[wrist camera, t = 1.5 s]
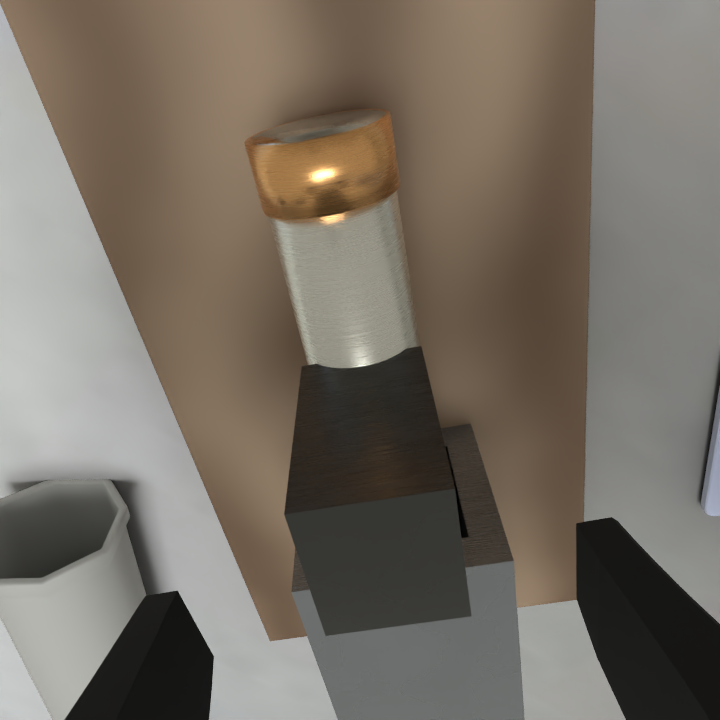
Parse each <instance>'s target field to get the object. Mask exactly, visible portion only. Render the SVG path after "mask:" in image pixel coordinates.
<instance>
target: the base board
mask: <svg viewBox="0 0 720 720" xmlns="http://www.w3.org/2000/svg"><path fill="white" fill-rule="evenodd" d="M0 4H1V6H2V9H3V11H4V13H5V16H6V18H7V20H8V23H9V25H10V28H11V30H12V32H13V35H14V37H15V39H16V42H17V44H18V46H19V49H20V51H21V54H22V56H23V58H24V61H25V63H26V65H27V68H28V70H29V72H30V75H31V77H32V80H33V82H34V84H35V87H36V89H37V91H38V94H39V96H40V98H41V101H42V103H43V106H44V108H45V110H46V113H47V115H48V117H49V120H50V122H51V124H52V127H53V129H54V132H55V134H56V136H57V139H58V141H59V143H60V146H61V148H62V150H63V153H64V155H65V158H66V160H67V162H68V165H69V167H70V169H71V172H72V174H73V176H74V179H75V181H76V183H77V186H78V188H79V191H80V193H81V195H82V198H83V200H84V202H85V205H86V207H87V209H88V212H89V214H90V217H91V219H92V221H93V224H94V226H95V228H96V231H97V233H98V235H99V238H100V240H101V243H102V245H103V247H104V250H105V252H106V254H107V257H108V259H109V261H110V264H111V266H112V269H113V271H114V273H115V276H116V278H117V280H118V283H119V285H120V287H121V290H122V292H123V295H124V297H125V299H126V302H127V304H128V306H129V309H130V311H131V313H132V316H133V318H134V321H135V323H136V325H137V328H138V330H139V332H140V335H141V337H142V339H143V342H144V344H145V347H146V349H147V351H148V354H149V356H150V358H151V361H152V363H153V365H154V368H155V370H156V373H157V375H158V377H159V380H160V382H161V384H162V387H163V389H164V391H165V394H166V396H167V399H168V401H169V403H170V406H171V408H172V410H173V413H174V415H175V417H176V420H177V422H178V425H179V427H180V429H181V432H182V434H183V436H184V439H185V441H186V443H187V446H188V448H189V451H190V453H191V455H192V458H193V460H194V462H195V465H196V467H197V469H198V472H199V474H200V477H201V479H202V481H203V484H204V486H205V488H206V491H207V493H208V495H209V498H210V500H211V503H212V505H213V507H214V510H215V512H216V514H217V517H218V519H219V521H220V524H221V526H222V529H223V531H224V533H225V536H226V538H227V540H228V543H229V545H230V547H231V550H232V552H233V554H234V557H235V559H236V562H237V564H238V566H239V569H240V571H241V573H242V576H243V578H244V580H245V583H246V585H247V588H248V590H249V592H250V595H251V597H252V599H253V602H254V604H255V606H256V609H257V611H258V614H259V616H260V618H261V621H262V623H263V625H264V628H265V630H266V632H267V635H268V637H269V640H270V641H274V640H282V639H289V638H297V637H304V636H307V634H306V631H305V628H304V625H303V623H302V620H301V617H300V615H299V612H298V609H297V606H296V604H295V601H294V598H293V596H292V593H291V590H292V579H293V568H294V557H295V545H294V542H293V539H292V536H291V533H290V530H289V527H288V524H287V521H286V519H285V516H284V511H285V503H286V494H287V486H288V477H289V469H290V460H291V452H292V443H293V435H294V426H295V418H296V409H297V401H298V392H299V384H300V375H301V367H302V366H305V365H308V363H307V360H306V356H305V352H304V348H303V344H302V341H301V337H300V333H299V329H298V326H297V322H296V318H295V314H294V310H293V307H292V303H291V299H290V295H289V291H288V288H287V284H286V280H285V276H284V273H283V269H282V265H281V261H280V257H279V254H278V250H277V246H276V242H275V239H274V235H273V231H272V227H271V223H270V220H269V217H268V216H266V215H265V214H264V213H263V210H262V207H261V203H260V199H259V196H258V192H257V188H256V184H255V181H254V177H253V173H252V169H251V166H250V162H249V158H248V155H247V151H246V147H245V143H244V142H245V140H246V139H247V138H249V137H250V136H252V135H254V134H256V133H259V132H261V131H264V130H267V129H269V128H272V127H275V126H279V125H282V124H285V123H289V122H293V121H297V120H301V119H305V118H309V117H314V116H319V115H324V114H330V113H336V112H342V111H350V110H359V109H385V110H388V111H390V114H391V121H392V128H393V135H394V142H395V149H396V156H397V163H398V170H399V177H400V187H399V188H398V189H397V194H398V201H399V208H400V215H401V222H402V228H403V235H404V242H405V249H406V256H407V263H408V269H409V276H410V283H411V290H412V297H413V303H414V310H415V317H416V324H417V331H418V337H419V344H420V346H422V351H423V355H424V359H425V363H426V368H427V372H428V376H429V380H430V385H431V389H432V393H433V397H434V402H435V406H436V410H437V414H438V419H439V423H440V427H441V428H446V427H452V426H458V425H465V424H471V425H472V428H473V431H474V435H475V438H476V441H477V444H478V447H479V451H480V454H481V457H482V460H483V464H484V467H485V470H486V473H487V476H488V480H489V483H490V486H491V489H492V492H493V496H494V499H495V502H496V505H497V508H498V512H499V515H500V518H501V521H502V524H503V528H504V531H505V534H506V537H507V540H508V544H509V547H510V550H511V553H512V556H513V560H514V570H515V585H516V600H517V608H518V607H526V606H533V605H540V604H548V603H555V602H563V601H570V600H577V598H576V523H581V522H584V480H585V434H586V388H587V343H588V297H589V252H590V206H591V161H592V115H593V69H594V24H595V0H0Z"/></svg>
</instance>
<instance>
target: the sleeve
mask: <svg viewBox="0 0 720 720" xmlns="http://www.w3.org/2000/svg"><path fill="white" fill-rule="evenodd" d="M441 431H442V436H443V440H444V444H445V448H446V453H447V457H448V461H449V465H450V469H451V474H452V478H453V482H454V486H455V492H456V500H457V508H458V515H459V523H460V531H461V539H462V546H463V554H464V562H465V569H466V577H467V585H468V592H469V600H470V608H471V615H472V616H470V617H463V618H455V619H448V620H440V621H433V622H426V623H418V624H411V625H403V626H396V627H389V628H381V629H374V630H366V631H359V632H352V633H344V634H337V635H329V636H325V633H324V630H323V627H322V624H321V621H320V618H319V615H318V612H317V609H316V606H315V604H314V601H313V598H312V595H311V592H310V589H309V586H308V583H307V580H306V577H305V574H304V571H303V568H302V565H301V563H300V560H299V557H298V554H297V551H296V548H295V557H294V568H293V579H292V590H291V593H292V596H293V598H294V601H295V604H296V606H297V609H298V612H299V615H300V617H301V620H302V623H303V625H304V628H305V631H306V634H307V636H308V639H309V642H310V645H311V647H312V650H313V653H314V655H315V658H316V661H317V664H318V666H319V669H320V672H321V675H322V677H323V680H324V683H325V685H326V688H327V691H328V694H329V696H330V699H331V702H332V704H333V707H334V710H335V713H336V715H337V718H338V720H524V706H523V691H522V675H521V660H520V645H519V630H518V615H517V600H516V585H515V570H514V560H513V556H512V553H511V550H510V547H509V544H508V540H507V537H506V534H505V531H504V528H503V524H502V521H501V518H500V515H499V512H498V508H497V505H496V502H495V499H494V496H493V492H492V489H491V486H490V483H489V480H488V476H487V473H486V470H485V467H484V464H483V460H482V457H481V454H480V451H479V447H478V444H477V441H476V438H475V435H474V431H473V428H472V425H471V424H465V425H458V426H452V427H446V428H441Z"/></svg>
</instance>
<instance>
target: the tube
mask: <svg viewBox="0 0 720 720" xmlns="http://www.w3.org/2000/svg"><path fill="white" fill-rule="evenodd" d="M129 518H130V514H129V510H128V507H127V505H126V504H125V502H124V500H123V499H122V497H121V495H120V494H119V492H118V491H117V489H116V487H115V486H114V484H113V482H112V481H111V480H109V479H94V480H46V481H44V482H41V483H39V484H36V485H34V486H31V487H29V488H26V489H24V490H21V491H19V492H16V493H14V494H11V495H9V496H6V497H4V498H2V499H0V618H1V620H2V622H3V624H4V625H5V627H6V629H7V631H8V633H9V635H10V637H11V639H12V641H13V643H14V645H15V647H16V649H17V651H18V653H19V655H20V657H21V659H22V661H23V663H24V665H25V667H26V669H27V671H28V673H29V675H30V677H31V679H32V681H33V682H34V684H35V686H36V688H37V690H38V692H39V694H40V696H41V698H42V700H43V702H44V704H45V706H46V708H47V710H48V712H49V714H50V716H51V718H52V720H64V719H65V718H66V716H67V715H68V713H69V712H70V711H71V709H72V708H73V706H74V705H75V703H76V702H77V700H78V699H79V697H80V696H81V694H82V693H83V691H84V690H85V688H86V687H87V685H88V684H89V682H90V681H91V679H92V678H93V676H94V674H95V673H96V671H97V670H98V668H99V667H100V665H101V664H102V662H103V660H104V659H105V657H106V656H107V654H108V653H109V651H110V650H111V648H112V646H113V645H114V643H115V642H116V640H117V639H118V637H119V636H120V634H121V632H122V631H123V629H124V628H125V626H126V625H127V623H128V621H129V620H130V618H131V617H132V615H133V614H134V612H135V611H136V609H137V608H138V606H139V605H140V603H141V602H142V600H143V599H144V597H145V596H146V593H145V589H144V586H143V582H142V579H141V576H140V572H139V569H138V565H137V562H136V559H135V555H134V552H133V548H132V545H131V541H130V538H129V535H128V531H127V528H126V525H127V523H128V520H129Z"/></svg>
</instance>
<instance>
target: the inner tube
mask: <svg viewBox="0 0 720 720" xmlns="http://www.w3.org/2000/svg"><path fill="white" fill-rule="evenodd" d="M244 143H245V147H246V151H247V155H248V158H249V162H250V166H251V169H252V173H253V177H254V181H255V184H256V188H257V192H258V196H259V199H260V203H261V207H262V210H263V213H264V214H265V215H266V216H268V217H269V220H270V223H271V227H272V231H273V235H274V239H275V242H276V246H277V250H278V254H279V257H280V261H281V265H282V269H283V273H284V276H285V280H286V284H287V288H288V291H289V295H290V299H291V303H292V307H293V310H294V314H295V318H296V322H297V326H298V329H299V333H300V337H301V341H302V344H303V348H304V352H305V356H306V360H307V363H308V365H305V366H302V367H301V375H300V384H299V392H298V401H297V409H296V418H295V426H294V435H293V443H292V452H291V460H290V469H289V477H288V486H287V494H286V503H285V511H284V516H285V519H286V521H287V524H288V527H289V530H290V533H291V536H292V539H293V542H294V545H295V548H296V551H297V554H298V557H299V560H300V563H301V565H302V568H303V571H304V574H305V577H306V580H307V583H308V586H309V589H310V592H311V595H312V598H313V601H314V604H315V606H316V609H317V612H318V615H319V618H320V621H321V624H322V627H323V630H324V633H325V636H329V635H337V634H344V633H352V632H359V631H366V630H374V629H381V628H389V627H396V626H403V625H411V624H418V623H426V622H433V621H440V620H448V619H455V618H463V617H470V616H472V615H471V608H470V600H469V592H468V585H467V577H466V569H465V562H464V554H463V546H462V539H461V531H460V523H459V515H458V508H457V500H456V492H455V486H454V482H453V478H452V474H451V469H450V465H449V461H448V457H447V453H446V448H445V444H444V440H443V436H442V431H441V427H440V423H439V419H438V414H437V410H436V406H435V402H434V397H433V393H432V389H431V385H430V380H429V376H428V372H427V368H426V363H425V359H424V355H423V351H422V346H420V344H419V337H418V331H417V324H416V317H415V310H414V303H413V297H412V290H411V283H410V276H409V269H408V263H407V256H406V249H405V242H404V235H403V228H402V222H401V215H400V208H399V201H398V194H397V189H398V188H399V187H400V177H399V170H398V163H397V156H396V149H395V142H394V135H393V128H392V121H391V114H390V111H388V110H385V109H359V110H350V111H342V112H336V113H330V114H324V115H319V116H314V117H309V118H305V119H301V120H297V121H293V122H289V123H285V124H282V125H279V126H275V127H272V128H269V129H267V130H264V131H261V132H259V133H256V134H254V135H252V136H250V137H249V138H247V139H246V140H245V142H244Z"/></svg>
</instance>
